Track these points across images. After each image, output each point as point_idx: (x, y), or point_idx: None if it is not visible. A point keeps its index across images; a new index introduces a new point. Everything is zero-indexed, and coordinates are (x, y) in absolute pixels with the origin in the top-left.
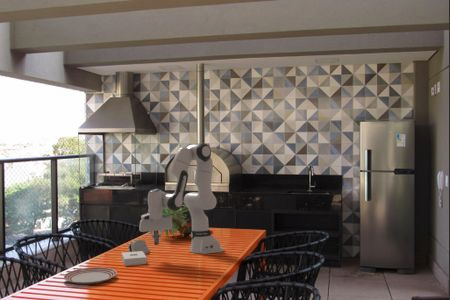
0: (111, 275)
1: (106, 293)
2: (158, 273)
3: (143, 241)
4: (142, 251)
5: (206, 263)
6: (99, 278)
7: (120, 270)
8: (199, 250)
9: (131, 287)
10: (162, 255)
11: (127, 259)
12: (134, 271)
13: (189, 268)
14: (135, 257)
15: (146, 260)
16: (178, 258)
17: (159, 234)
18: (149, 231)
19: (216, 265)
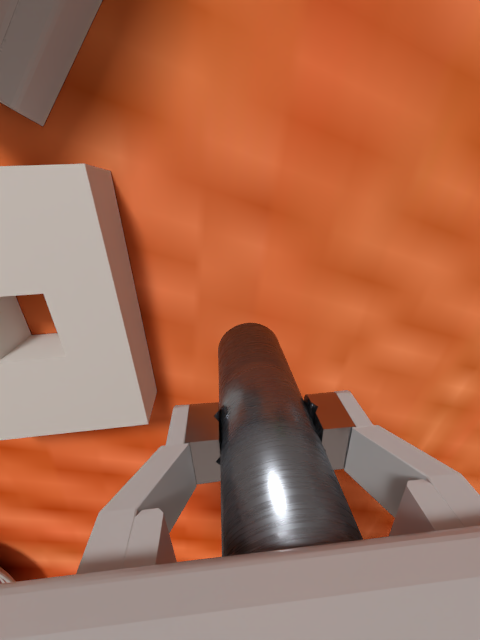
0: (2, 581)
1: None
2: (212, 534)
3: None
4: (87, 188)
5: (462, 434)
6: None
7: (15, 485)
8: None
9: None
10: (304, 142)
11: (2, 436)
12: (100, 505)
13: (354, 491)
14: (58, 417)
15: (152, 407)
16: (385, 298)
17: (342, 439)
18: (89, 556)
19: (477, 467)
